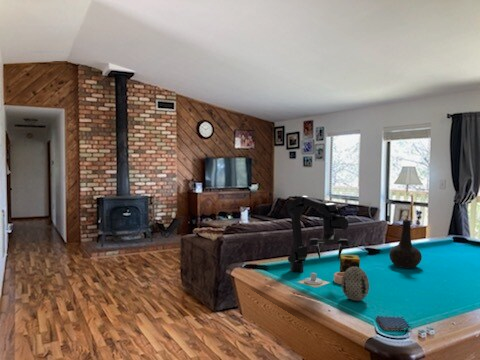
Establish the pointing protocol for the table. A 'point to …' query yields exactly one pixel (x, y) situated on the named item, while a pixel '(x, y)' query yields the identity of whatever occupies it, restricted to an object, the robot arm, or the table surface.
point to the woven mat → (392, 323)
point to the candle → (348, 262)
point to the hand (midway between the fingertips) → (329, 259)
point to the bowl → (338, 277)
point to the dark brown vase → (405, 249)
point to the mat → (314, 285)
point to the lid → (313, 280)
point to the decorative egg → (355, 283)
